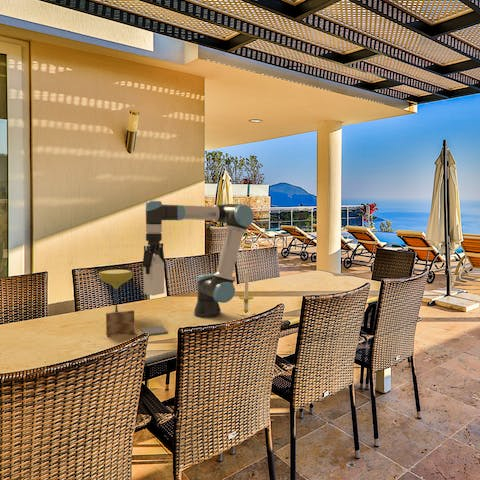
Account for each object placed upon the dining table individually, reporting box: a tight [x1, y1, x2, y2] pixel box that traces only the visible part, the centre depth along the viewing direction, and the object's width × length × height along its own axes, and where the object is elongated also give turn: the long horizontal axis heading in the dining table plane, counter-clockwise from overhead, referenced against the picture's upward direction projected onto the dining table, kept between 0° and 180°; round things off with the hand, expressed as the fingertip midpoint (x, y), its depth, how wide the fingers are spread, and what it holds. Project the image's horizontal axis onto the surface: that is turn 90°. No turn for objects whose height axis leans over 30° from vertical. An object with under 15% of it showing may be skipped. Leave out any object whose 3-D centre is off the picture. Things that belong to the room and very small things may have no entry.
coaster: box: [140, 324, 169, 336], centre depth 207 cm, size 11×11×1 cm
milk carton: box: [142, 254, 165, 297], centre depth 204 cm, size 7×7×19 cm
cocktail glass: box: [98, 267, 134, 312], centre depth 233 cm, size 18×18×25 cm
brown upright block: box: [105, 309, 136, 338], centre depth 201 cm, size 13×5×11 cm, turn 114°
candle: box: [238, 268, 255, 313], centre depth 240 cm, size 10×10×27 cm
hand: (153, 278), depth 204 cm, fingers closed on milk carton, 8 cm apart
